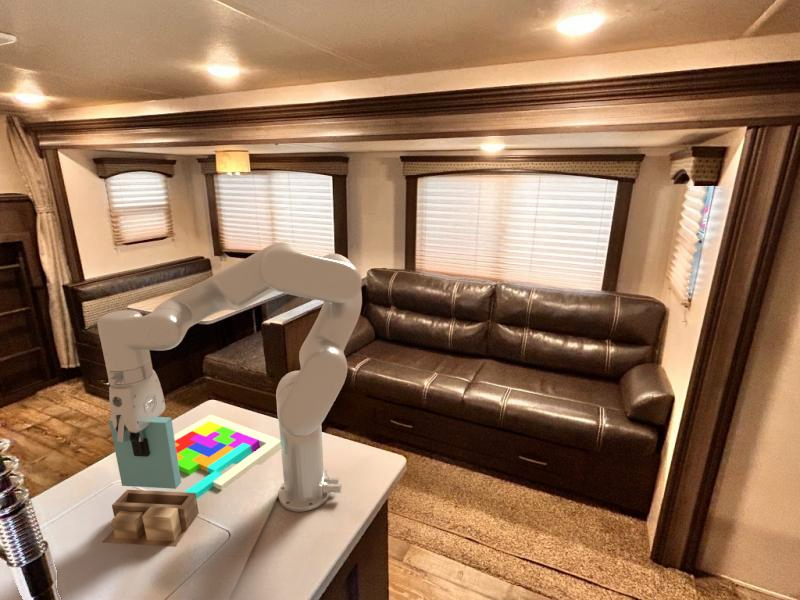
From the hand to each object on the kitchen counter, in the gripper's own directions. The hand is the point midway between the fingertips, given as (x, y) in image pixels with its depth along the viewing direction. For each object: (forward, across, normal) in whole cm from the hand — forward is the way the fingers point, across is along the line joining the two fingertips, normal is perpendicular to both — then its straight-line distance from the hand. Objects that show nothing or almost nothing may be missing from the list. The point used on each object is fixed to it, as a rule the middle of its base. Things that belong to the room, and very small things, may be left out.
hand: (146, 451), depth 88 cm
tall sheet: (+8, 0, 0) cm, 8 cm away
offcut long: (+18, -4, -4) cm, 19 cm away
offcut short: (+18, -4, +4) cm, 18 cm away
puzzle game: (+19, +21, +2) cm, 29 cm away
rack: (+19, -2, 0) cm, 19 cm away
